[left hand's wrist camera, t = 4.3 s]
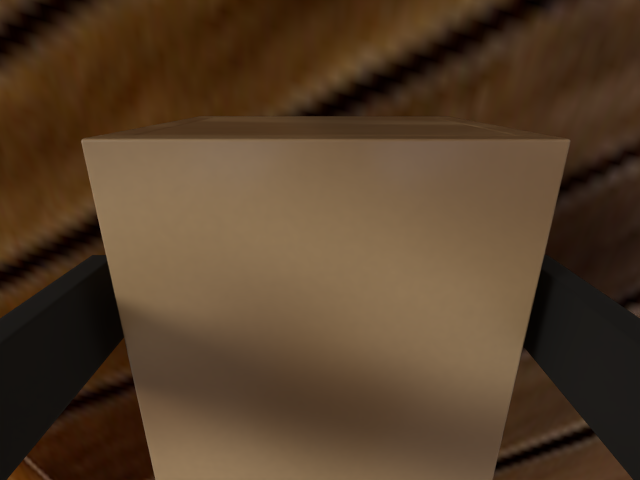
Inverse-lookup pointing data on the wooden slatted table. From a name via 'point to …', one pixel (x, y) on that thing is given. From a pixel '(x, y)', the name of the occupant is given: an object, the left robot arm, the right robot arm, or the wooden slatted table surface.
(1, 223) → the wooden slatted table surface
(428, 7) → the wooden slatted table surface
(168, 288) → the cabinet
